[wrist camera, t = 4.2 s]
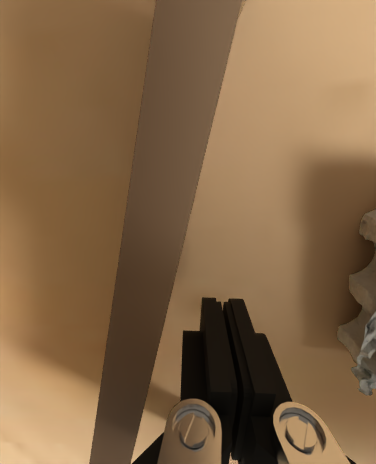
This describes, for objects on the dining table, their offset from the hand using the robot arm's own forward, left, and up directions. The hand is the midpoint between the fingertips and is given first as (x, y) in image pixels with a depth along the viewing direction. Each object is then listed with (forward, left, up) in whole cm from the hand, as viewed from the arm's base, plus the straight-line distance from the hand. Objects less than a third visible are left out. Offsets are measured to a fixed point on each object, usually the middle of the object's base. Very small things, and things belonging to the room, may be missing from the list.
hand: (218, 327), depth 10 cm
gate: (+3, -1, -3) cm, 4 cm away
